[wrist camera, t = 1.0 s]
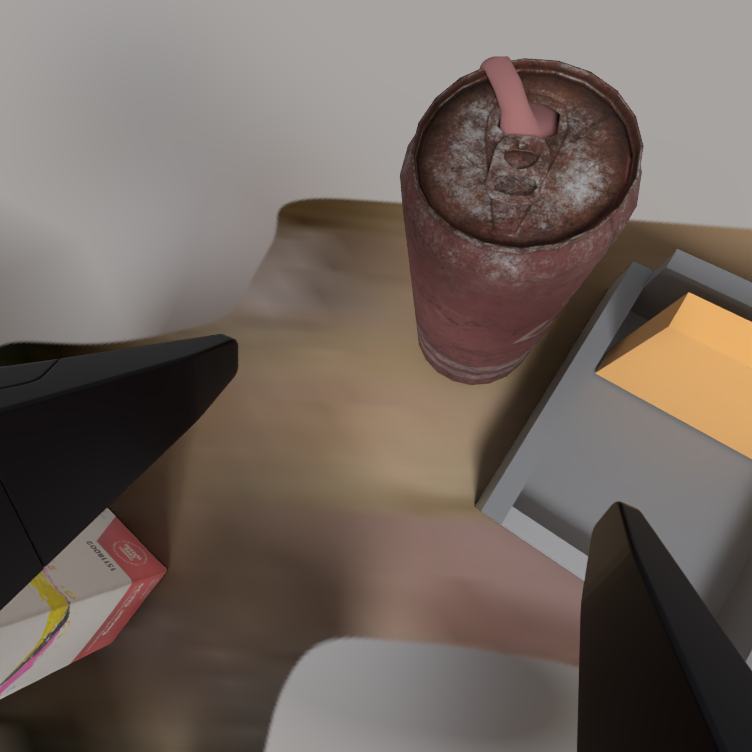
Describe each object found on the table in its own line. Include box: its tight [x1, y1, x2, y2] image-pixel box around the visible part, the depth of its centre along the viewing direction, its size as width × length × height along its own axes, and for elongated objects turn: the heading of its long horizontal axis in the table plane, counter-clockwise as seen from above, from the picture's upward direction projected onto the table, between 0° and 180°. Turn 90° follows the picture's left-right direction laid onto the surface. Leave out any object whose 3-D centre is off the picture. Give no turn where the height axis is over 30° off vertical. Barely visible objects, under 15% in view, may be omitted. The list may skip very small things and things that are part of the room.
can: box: [400, 57, 643, 385], centre depth 17 cm, size 6×6×14 cm
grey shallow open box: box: [475, 249, 752, 670], centre depth 19 cm, size 14×12×5 cm
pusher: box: [595, 292, 752, 459], centre depth 17 cm, size 2×9×7 cm, turn 57°
